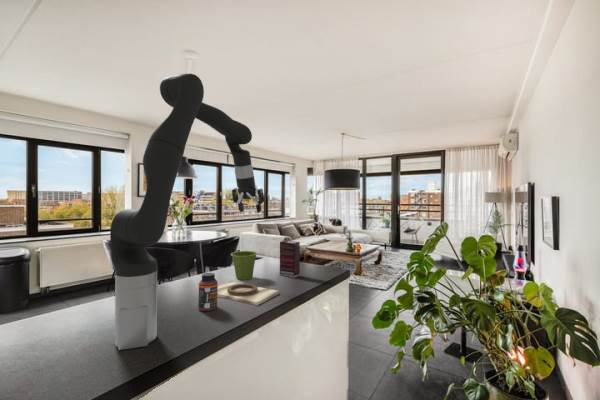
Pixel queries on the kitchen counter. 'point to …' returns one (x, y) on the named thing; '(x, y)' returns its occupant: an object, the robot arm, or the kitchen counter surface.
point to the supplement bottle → (207, 292)
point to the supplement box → (290, 258)
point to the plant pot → (244, 264)
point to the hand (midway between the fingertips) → (250, 211)
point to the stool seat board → (245, 293)
